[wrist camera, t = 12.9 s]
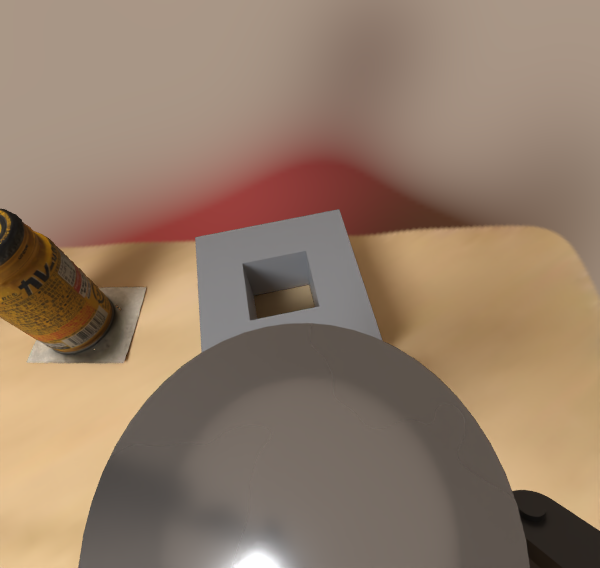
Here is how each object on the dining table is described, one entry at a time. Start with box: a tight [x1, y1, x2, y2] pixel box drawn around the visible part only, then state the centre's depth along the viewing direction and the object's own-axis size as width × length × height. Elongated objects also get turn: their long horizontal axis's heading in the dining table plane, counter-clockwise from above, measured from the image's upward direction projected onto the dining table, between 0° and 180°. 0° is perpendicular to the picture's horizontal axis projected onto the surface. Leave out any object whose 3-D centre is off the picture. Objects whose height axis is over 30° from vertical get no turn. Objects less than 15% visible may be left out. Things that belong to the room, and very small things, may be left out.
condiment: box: [0, 209, 146, 363], centre depth 28 cm, size 7×8×12 cm
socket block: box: [195, 209, 382, 352], centre depth 30 cm, size 12×12×5 cm
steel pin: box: [78, 323, 530, 568], centre depth 12 cm, size 6×6×16 cm
